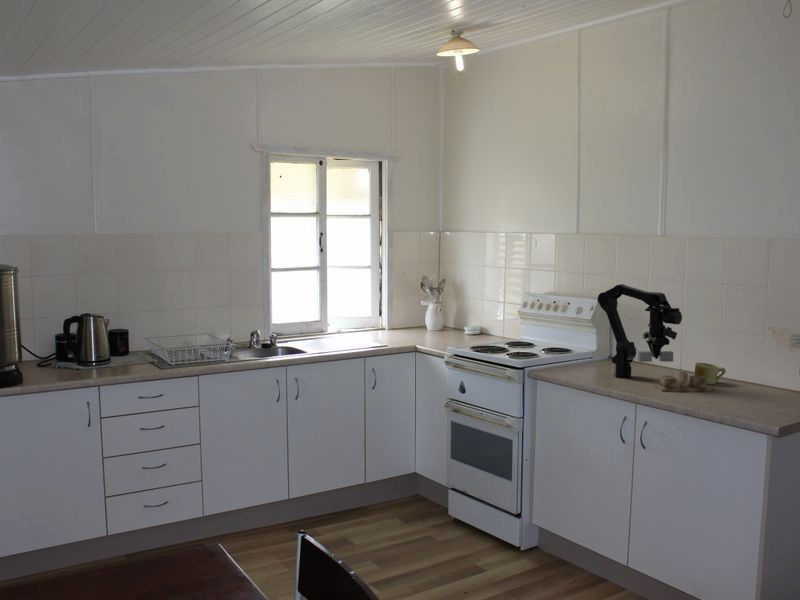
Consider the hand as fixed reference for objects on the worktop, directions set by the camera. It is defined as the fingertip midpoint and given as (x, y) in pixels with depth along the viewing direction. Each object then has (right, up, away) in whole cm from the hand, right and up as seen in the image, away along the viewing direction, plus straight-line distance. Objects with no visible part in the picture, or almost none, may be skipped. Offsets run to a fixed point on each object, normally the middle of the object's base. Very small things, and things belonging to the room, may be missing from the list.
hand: (655, 358), depth 325 cm
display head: (+7, -12, -12) cm, 19 cm away
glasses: (0, -1, 0) cm, 1 cm away
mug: (+23, -11, -1) cm, 25 cm away
